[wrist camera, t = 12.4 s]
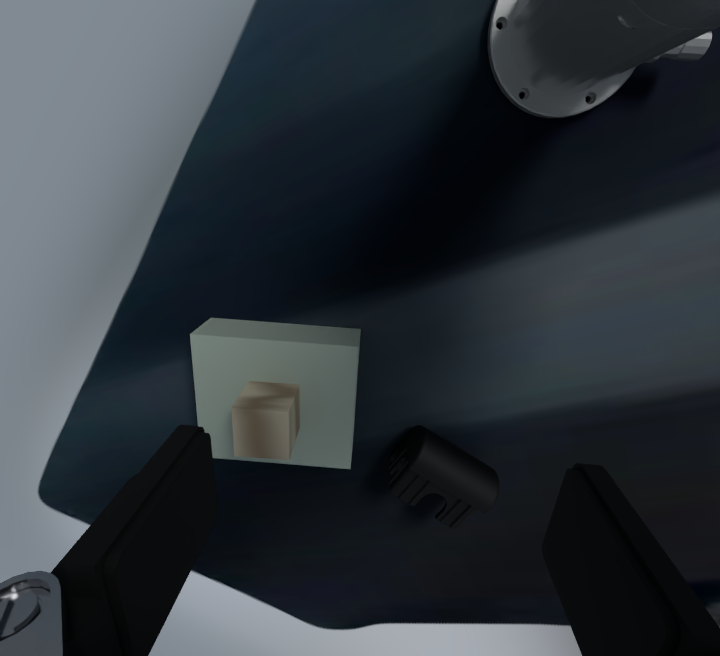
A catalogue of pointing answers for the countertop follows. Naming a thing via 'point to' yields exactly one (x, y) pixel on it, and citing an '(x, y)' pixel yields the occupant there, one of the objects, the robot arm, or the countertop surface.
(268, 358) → the sage stand
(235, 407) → the maple cube
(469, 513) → the end cap
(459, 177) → the countertop surface
